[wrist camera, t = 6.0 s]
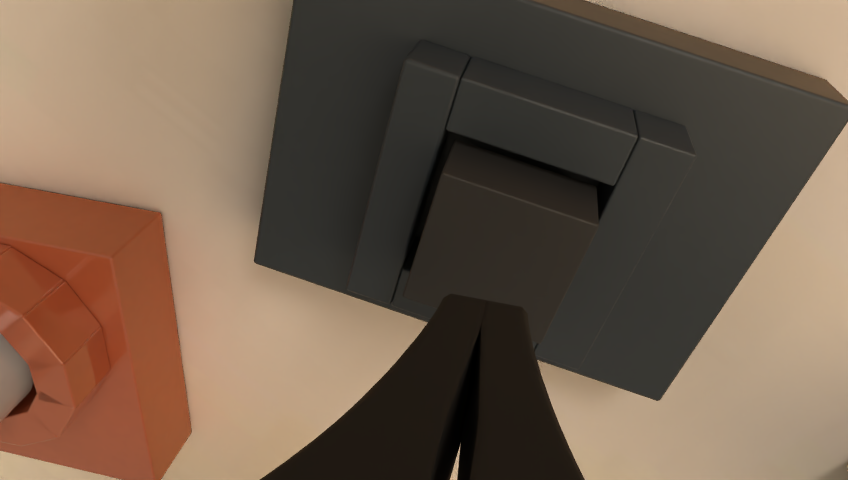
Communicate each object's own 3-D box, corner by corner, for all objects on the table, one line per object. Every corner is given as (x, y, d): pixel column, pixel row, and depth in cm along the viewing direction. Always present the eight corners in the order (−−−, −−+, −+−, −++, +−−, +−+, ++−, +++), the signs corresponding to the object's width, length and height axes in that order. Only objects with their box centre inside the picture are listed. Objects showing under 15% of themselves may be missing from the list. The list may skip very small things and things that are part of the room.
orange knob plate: (192, 432, 26) (127, 532, 22) (8, 390, 27) (-84, 480, 23) (162, 211, 21) (69, 294, 17) (-66, 169, 22) (-201, 239, 18)
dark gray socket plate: (652, 358, 20) (666, 447, 17) (277, 230, 20) (227, 296, 17) (829, 79, 15) (889, 138, 12) (331, -84, 15) (273, -65, 12)
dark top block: (544, 298, 16) (540, 345, 14) (418, 255, 16) (401, 297, 14) (597, 185, 14) (599, 225, 13) (455, 137, 14) (441, 172, 13)
